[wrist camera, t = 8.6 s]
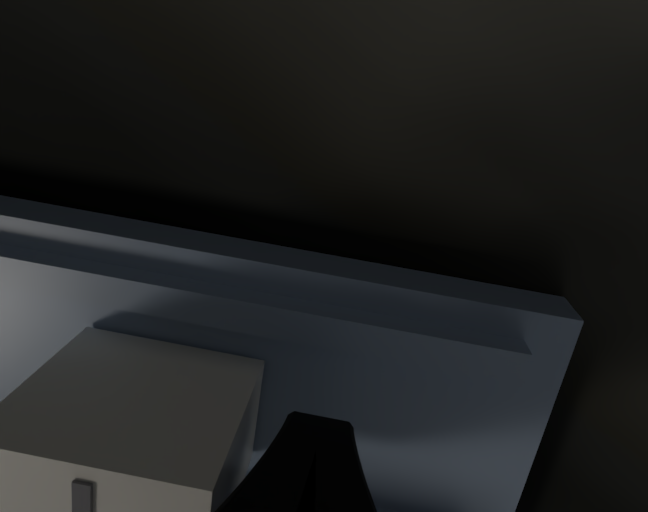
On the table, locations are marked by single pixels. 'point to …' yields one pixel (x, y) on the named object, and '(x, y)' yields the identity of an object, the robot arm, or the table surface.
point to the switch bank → (308, 342)
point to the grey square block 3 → (128, 428)
